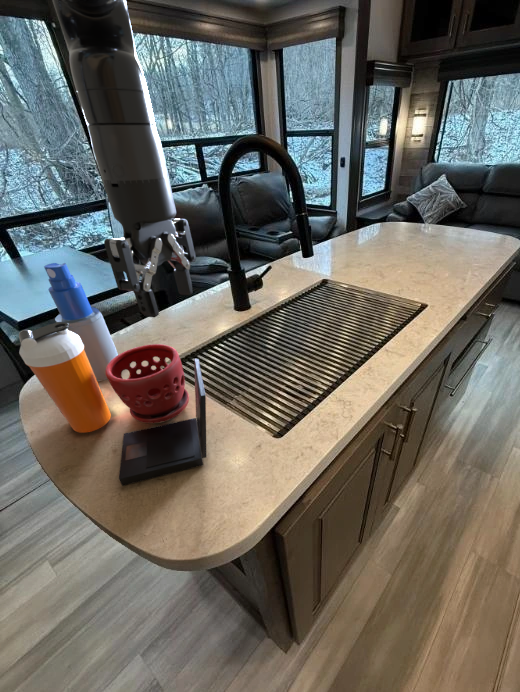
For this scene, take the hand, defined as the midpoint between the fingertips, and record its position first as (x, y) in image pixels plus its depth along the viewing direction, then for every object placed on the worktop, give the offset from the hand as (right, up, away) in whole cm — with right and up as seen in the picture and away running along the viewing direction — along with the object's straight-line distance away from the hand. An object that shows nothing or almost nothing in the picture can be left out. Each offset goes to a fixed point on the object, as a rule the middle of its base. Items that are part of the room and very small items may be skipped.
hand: (169, 304), depth 50 cm
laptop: (-5, -24, +10) cm, 26 cm away
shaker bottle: (-22, -19, +17) cm, 33 cm away
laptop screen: (+2, -16, +6) cm, 17 cm away
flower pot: (-10, -16, +19) cm, 27 cm away
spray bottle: (-28, -7, +31) cm, 43 cm away
